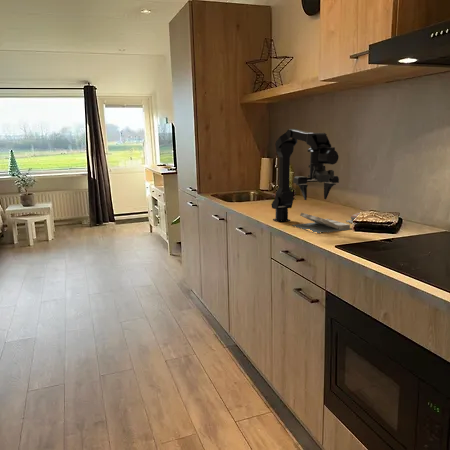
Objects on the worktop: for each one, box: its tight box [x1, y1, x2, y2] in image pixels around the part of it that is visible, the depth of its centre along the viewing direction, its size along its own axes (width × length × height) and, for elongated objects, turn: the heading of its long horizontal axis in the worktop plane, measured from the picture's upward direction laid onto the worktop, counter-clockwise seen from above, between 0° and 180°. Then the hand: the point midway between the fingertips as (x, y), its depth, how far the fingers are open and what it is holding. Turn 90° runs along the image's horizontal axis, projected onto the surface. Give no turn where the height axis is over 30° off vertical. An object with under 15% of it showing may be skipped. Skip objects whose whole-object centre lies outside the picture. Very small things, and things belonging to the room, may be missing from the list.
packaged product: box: [345, 212, 361, 224], centre depth 194 cm, size 18×5×10 cm
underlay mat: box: [291, 222, 353, 234], centre depth 189 cm, size 19×19×1 cm
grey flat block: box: [324, 218, 351, 229], centre depth 192 cm, size 16×6×2 cm, turn 24°
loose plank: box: [299, 212, 339, 229], centre depth 188 cm, size 16×10×2 cm, turn 24°
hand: (315, 199), depth 180 cm, fingers open, 9 cm apart
